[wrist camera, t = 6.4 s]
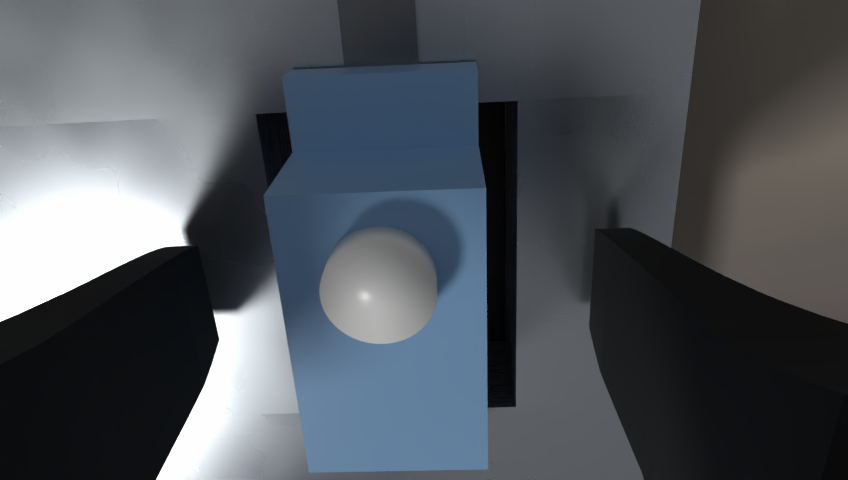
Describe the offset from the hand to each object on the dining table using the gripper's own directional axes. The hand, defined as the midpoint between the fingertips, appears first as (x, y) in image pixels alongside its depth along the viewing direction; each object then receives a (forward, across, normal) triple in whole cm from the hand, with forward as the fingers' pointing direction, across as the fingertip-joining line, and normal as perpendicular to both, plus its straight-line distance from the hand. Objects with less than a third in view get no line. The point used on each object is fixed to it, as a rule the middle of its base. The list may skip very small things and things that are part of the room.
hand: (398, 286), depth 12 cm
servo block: (+3, 0, 0) cm, 3 cm away
